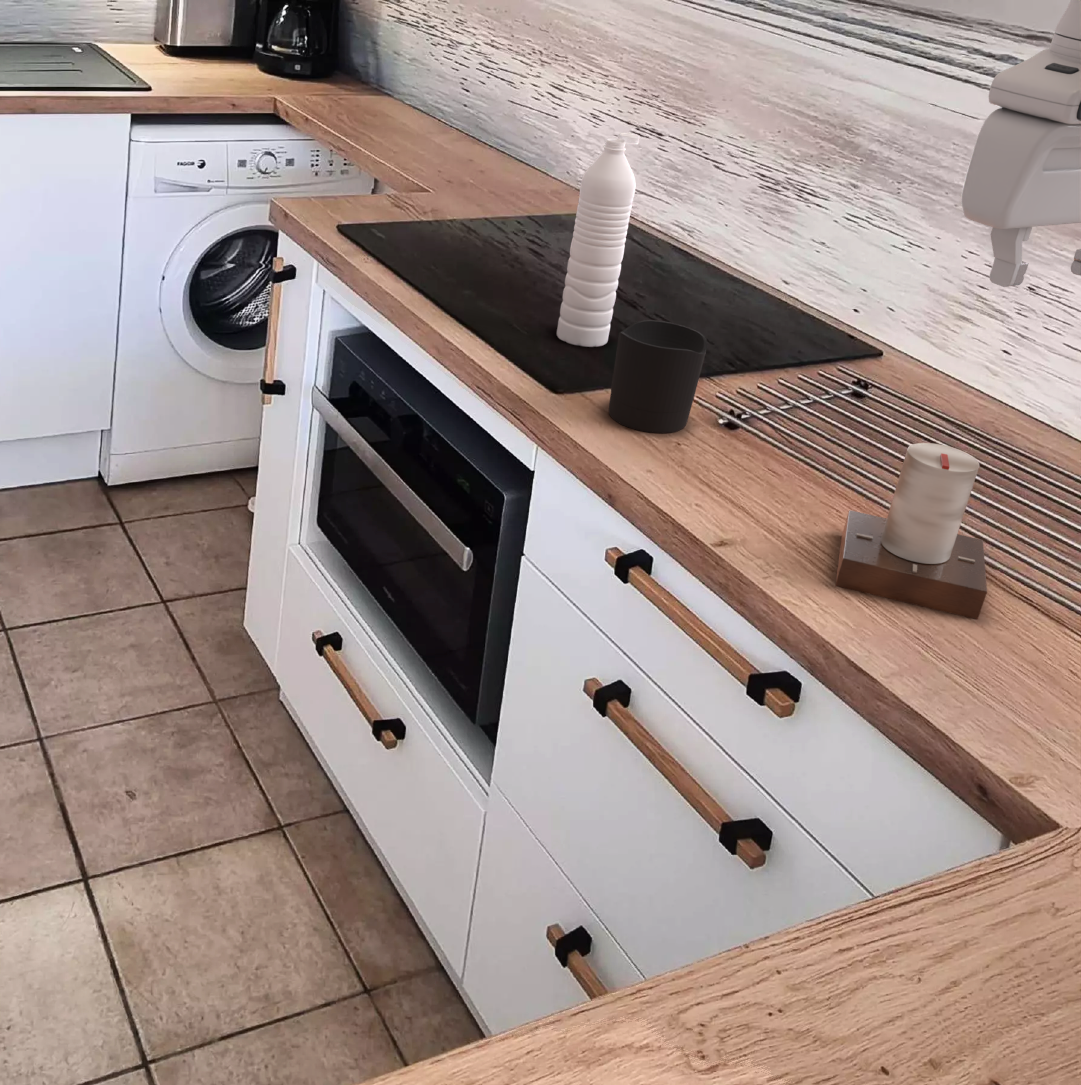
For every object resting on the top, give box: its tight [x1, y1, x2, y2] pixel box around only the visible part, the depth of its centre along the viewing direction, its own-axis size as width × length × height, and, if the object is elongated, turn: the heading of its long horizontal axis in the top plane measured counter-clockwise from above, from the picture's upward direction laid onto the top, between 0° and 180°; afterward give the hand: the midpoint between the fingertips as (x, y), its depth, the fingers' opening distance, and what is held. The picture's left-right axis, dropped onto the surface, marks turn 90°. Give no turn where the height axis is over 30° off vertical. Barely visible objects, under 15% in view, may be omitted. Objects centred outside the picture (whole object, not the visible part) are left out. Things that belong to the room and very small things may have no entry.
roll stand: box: [834, 509, 988, 620], centre depth 128 cm, size 12×11×3 cm
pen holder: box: [608, 319, 708, 434], centre depth 155 cm, size 9×9×10 cm
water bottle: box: [556, 132, 641, 348], centre depth 175 cm, size 9×6×25 cm
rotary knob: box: [881, 442, 980, 564], centre depth 125 cm, size 6×6×9 cm
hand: (1045, 279), depth 105 cm, fingers open, 8 cm apart
